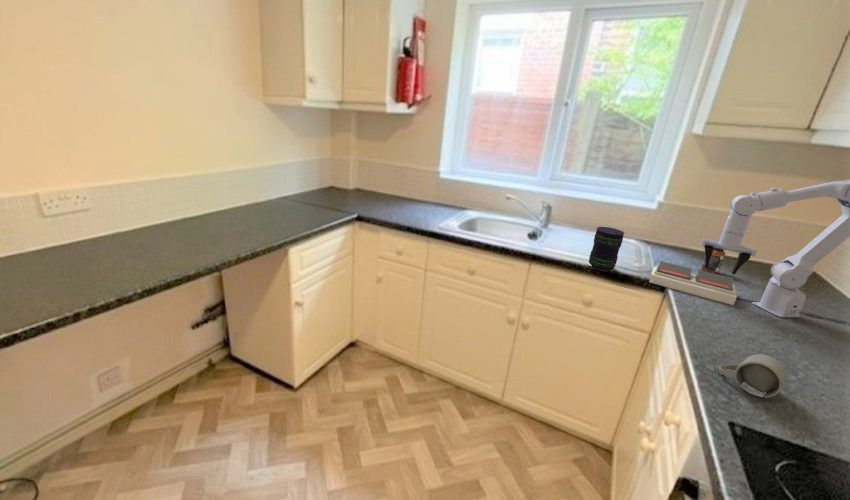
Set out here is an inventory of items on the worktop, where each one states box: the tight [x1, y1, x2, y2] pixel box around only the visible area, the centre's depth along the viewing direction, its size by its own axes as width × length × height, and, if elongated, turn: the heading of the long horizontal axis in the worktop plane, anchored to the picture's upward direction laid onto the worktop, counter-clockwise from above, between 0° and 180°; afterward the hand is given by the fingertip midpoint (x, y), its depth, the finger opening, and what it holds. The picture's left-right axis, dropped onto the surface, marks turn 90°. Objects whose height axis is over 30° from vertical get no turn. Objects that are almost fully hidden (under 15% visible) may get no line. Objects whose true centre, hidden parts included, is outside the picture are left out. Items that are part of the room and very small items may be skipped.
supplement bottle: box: [700, 247, 726, 274], centre depth 155 cm, size 6×6×11 cm
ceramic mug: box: [718, 354, 786, 399], centre depth 84 cm, size 11×8×8 cm
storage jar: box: [588, 226, 625, 272], centre depth 148 cm, size 10×10×15 cm
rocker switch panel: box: [648, 264, 737, 306], centre depth 137 cm, size 25×12×4 cm, turn 55°
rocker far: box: [657, 260, 693, 280], centre depth 139 cm, size 10×7×1 cm
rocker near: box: [696, 269, 734, 291], centre depth 133 cm, size 10×7×1 cm
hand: (719, 270), depth 130 cm, fingers open, 7 cm apart
